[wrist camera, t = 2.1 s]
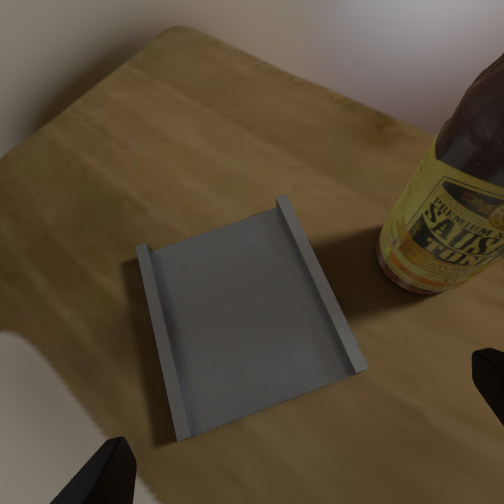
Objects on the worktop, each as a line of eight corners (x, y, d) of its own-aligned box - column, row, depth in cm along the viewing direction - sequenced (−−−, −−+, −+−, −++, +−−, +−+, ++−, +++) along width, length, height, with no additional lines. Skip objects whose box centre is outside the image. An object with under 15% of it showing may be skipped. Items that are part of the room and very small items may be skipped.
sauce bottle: (368, 289, 23) (633, -110, 5) (376, 212, 26) (578, -242, 8) (472, 309, 22) (1265, -126, 4) (471, 226, 24) (966, -275, 7)
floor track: (363, 371, 21) (369, 367, 20) (186, 439, 21) (177, 441, 19) (286, 206, 27) (285, 193, 25) (145, 256, 26) (135, 246, 24)
